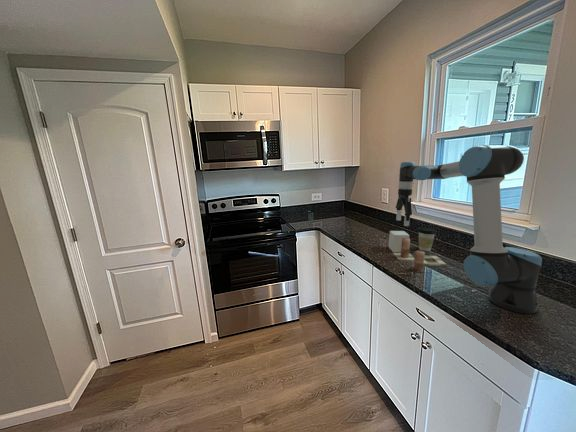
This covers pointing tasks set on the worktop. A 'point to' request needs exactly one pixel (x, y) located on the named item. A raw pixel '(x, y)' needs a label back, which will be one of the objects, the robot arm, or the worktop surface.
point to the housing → (396, 240)
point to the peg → (419, 260)
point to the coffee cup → (426, 238)
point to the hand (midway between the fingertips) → (402, 222)
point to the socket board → (437, 262)
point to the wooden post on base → (404, 250)
